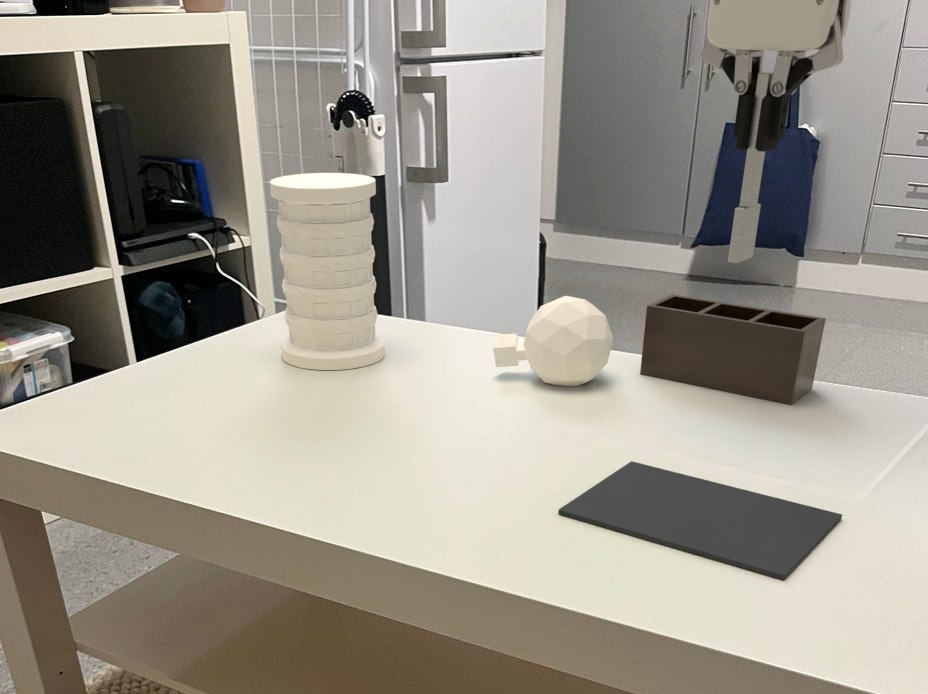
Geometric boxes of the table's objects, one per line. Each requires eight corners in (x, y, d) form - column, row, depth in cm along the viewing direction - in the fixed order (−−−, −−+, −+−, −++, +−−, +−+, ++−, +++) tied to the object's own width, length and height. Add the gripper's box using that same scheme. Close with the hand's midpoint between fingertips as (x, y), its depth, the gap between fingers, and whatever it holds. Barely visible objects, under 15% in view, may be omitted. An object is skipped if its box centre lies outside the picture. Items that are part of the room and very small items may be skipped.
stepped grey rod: (753, 257, 90) (781, 71, 82) (738, 263, 88) (765, 73, 80) (742, 255, 91) (769, 71, 83) (727, 261, 88) (753, 73, 81)
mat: (841, 519, 77) (842, 514, 77) (783, 580, 69) (785, 575, 69) (630, 465, 86) (631, 460, 86) (558, 514, 78) (558, 509, 78)
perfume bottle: (615, 352, 108) (504, 362, 110) (611, 274, 101) (492, 285, 103) (615, 403, 102) (497, 411, 104) (610, 323, 95) (485, 334, 98)
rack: (664, 366, 110) (672, 294, 106) (811, 394, 102) (826, 318, 98) (639, 379, 106) (646, 305, 102) (790, 410, 98) (804, 331, 94)
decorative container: (406, 350, 115) (401, 178, 105) (339, 377, 107) (327, 192, 97) (329, 334, 121) (318, 169, 111) (260, 358, 113) (242, 182, 103)
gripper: (919, -129, 73) (864, 151, 83) (721, -117, 81) (692, 138, 91) (886, -139, 68) (831, 161, 78) (678, -124, 76) (652, 146, 86)
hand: (756, 147), depth 84 cm, fingers closed on stepped grey rod, 1 cm apart
